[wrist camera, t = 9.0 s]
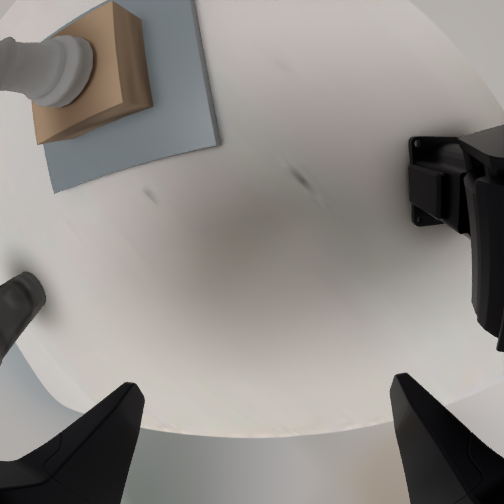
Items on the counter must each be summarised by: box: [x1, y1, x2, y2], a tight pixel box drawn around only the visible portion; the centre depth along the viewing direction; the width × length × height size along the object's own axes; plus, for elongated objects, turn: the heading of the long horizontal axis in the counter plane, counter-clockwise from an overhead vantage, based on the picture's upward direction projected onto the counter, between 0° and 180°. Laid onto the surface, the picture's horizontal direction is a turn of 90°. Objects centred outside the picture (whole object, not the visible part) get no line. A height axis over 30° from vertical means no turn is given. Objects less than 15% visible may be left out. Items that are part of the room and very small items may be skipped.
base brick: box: [32, 1, 154, 145], centre depth 13 cm, size 7×7×4 cm
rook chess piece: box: [0, 35, 93, 108], centre depth 7 cm, size 4×4×8 cm
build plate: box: [41, 0, 221, 194], centre depth 15 cm, size 14×14×2 cm
